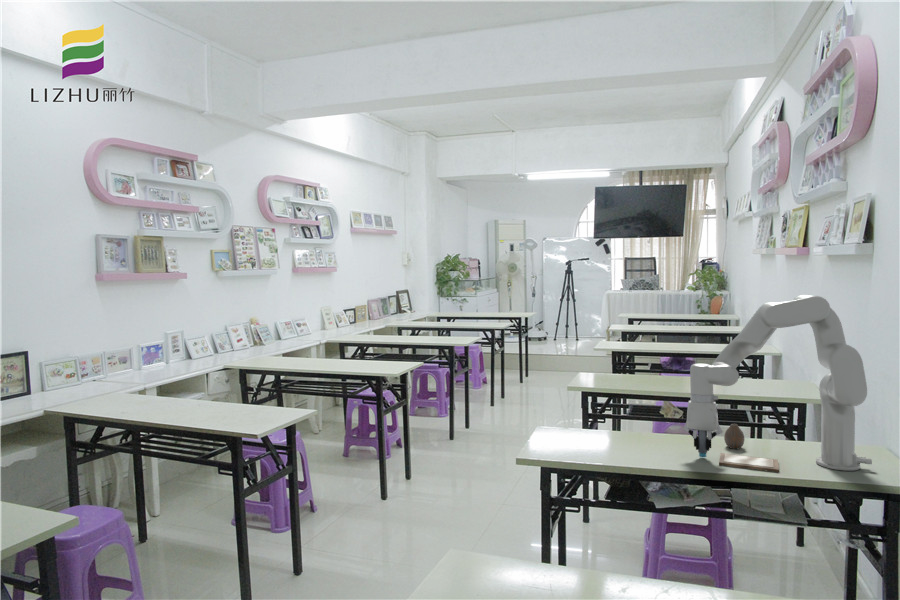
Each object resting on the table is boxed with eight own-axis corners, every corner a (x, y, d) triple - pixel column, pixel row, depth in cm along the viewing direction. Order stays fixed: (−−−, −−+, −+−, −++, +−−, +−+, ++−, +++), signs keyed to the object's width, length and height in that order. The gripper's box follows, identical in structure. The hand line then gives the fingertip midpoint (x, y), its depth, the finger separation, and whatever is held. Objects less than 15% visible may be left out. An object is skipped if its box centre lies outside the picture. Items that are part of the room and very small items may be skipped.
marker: (707, 455, 208) (707, 422, 208) (707, 457, 205) (706, 424, 205) (698, 454, 210) (698, 421, 209) (697, 456, 207) (697, 423, 207)
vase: (740, 445, 224) (740, 422, 223) (747, 450, 217) (747, 426, 217) (721, 444, 224) (721, 422, 224) (728, 449, 218) (728, 426, 217)
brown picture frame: (777, 462, 202) (777, 459, 202) (778, 472, 191) (778, 468, 191) (720, 455, 210) (720, 452, 210) (718, 465, 200) (718, 461, 199)
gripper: (727, 398, 206) (728, 449, 207) (678, 395, 214) (679, 444, 215) (726, 402, 200) (727, 454, 200) (676, 398, 207) (677, 449, 208)
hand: (702, 448), depth 207 cm, fingers closed on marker, 3 cm apart
